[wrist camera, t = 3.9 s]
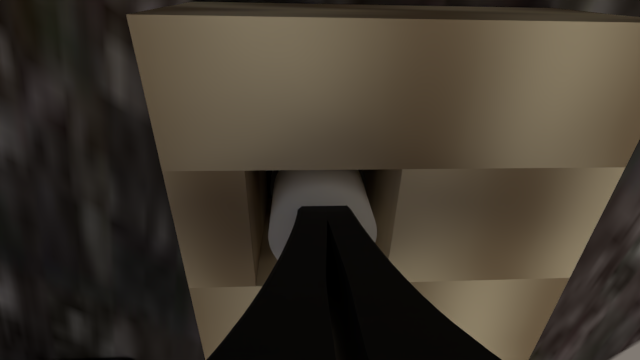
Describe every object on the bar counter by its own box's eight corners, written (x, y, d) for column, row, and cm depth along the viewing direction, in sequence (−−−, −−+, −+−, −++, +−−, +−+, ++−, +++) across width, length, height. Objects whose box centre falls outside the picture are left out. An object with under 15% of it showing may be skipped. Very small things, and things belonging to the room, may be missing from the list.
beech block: (245, 374, 21) (232, 476, 17) (192, 1, 11) (125, 14, 7) (441, 366, 22) (476, 462, 17) (552, 8, 12) (697, 23, 8)
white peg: (275, 199, 14) (266, 281, 10) (271, 123, 13) (260, 187, 9) (354, 198, 14) (375, 278, 11) (360, 123, 13) (387, 185, 9)
